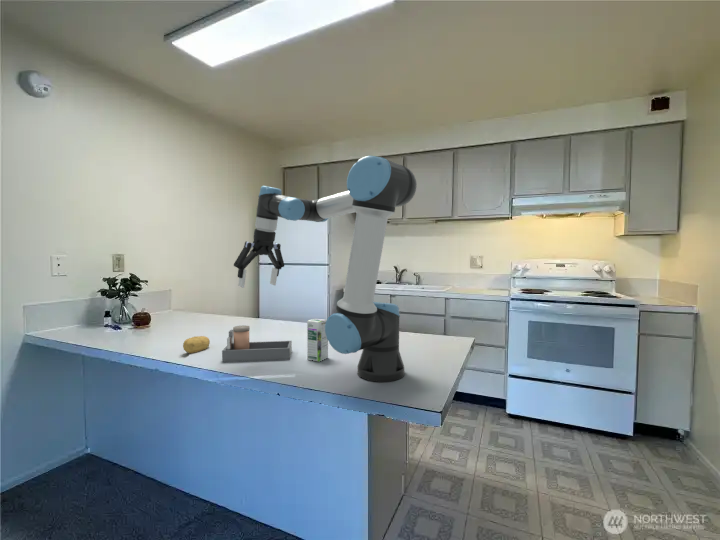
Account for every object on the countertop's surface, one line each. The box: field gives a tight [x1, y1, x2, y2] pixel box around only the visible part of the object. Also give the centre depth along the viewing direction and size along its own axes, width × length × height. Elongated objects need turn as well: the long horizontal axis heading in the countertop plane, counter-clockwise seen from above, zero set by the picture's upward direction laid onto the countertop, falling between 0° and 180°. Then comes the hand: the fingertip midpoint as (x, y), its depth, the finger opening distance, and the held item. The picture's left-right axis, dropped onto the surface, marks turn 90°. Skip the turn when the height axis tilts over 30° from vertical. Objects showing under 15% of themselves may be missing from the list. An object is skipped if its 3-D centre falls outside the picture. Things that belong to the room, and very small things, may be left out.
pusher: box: [226, 329, 234, 350], centre depth 123 cm, size 1×8×9 cm, turn 7°
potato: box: [182, 335, 211, 354], centre depth 133 cm, size 7×11×6 cm, turn 155°
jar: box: [232, 325, 251, 350], centre depth 123 cm, size 6×6×11 cm
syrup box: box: [306, 318, 329, 363], centre depth 124 cm, size 6×6×14 cm
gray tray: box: [221, 340, 293, 363], centre depth 124 cm, size 23×11×5 cm, turn 98°
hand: (257, 285), depth 127 cm, fingers open, 13 cm apart
